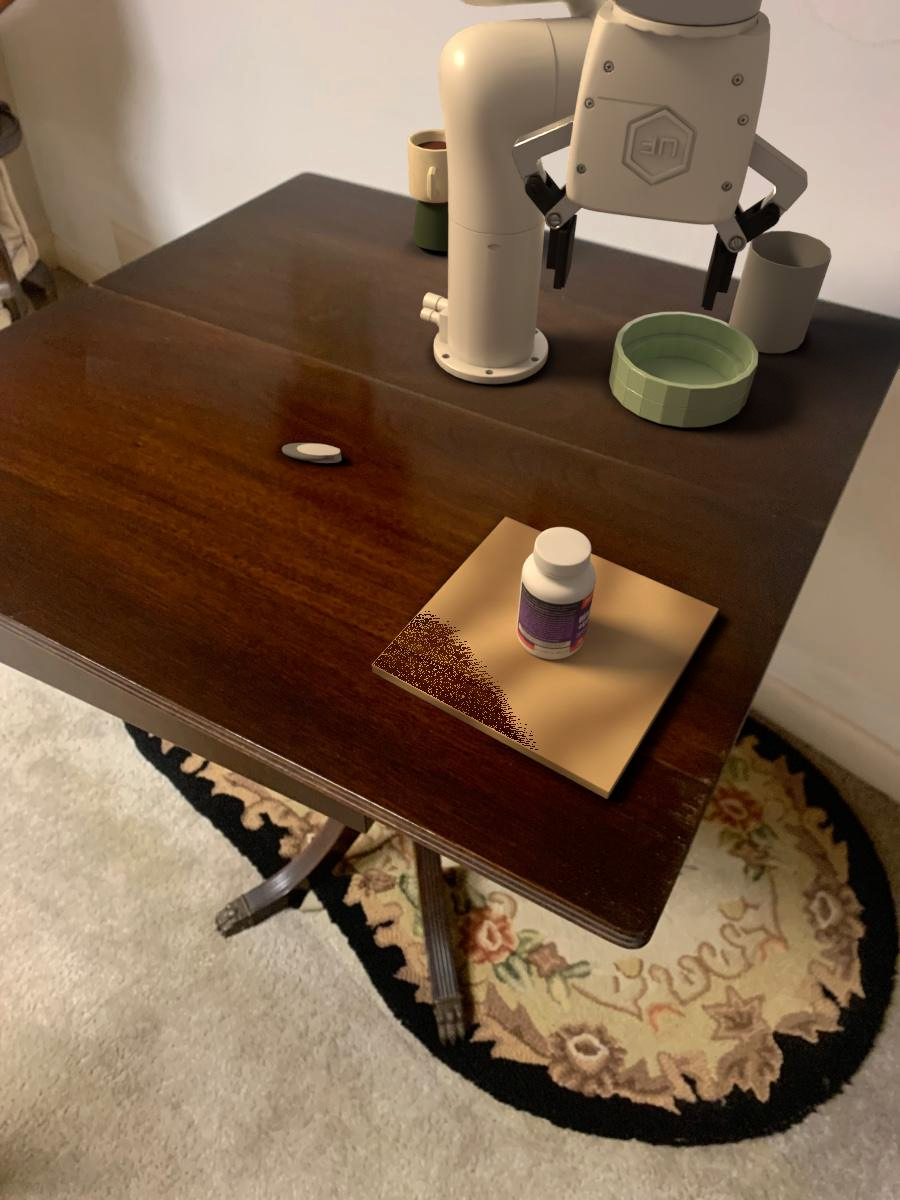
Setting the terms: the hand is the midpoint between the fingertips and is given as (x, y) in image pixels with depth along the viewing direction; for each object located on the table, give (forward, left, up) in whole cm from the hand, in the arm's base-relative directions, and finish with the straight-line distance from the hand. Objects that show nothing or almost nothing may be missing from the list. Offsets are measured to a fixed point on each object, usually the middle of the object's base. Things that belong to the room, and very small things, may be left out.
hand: (633, 289), depth 58 cm
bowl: (-3, +27, -25) cm, 37 cm away
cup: (+1, +43, -25) cm, 50 cm away
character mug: (-42, +40, -25) cm, 64 cm away
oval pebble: (-28, -3, -25) cm, 38 cm away
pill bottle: (+2, -11, -24) cm, 26 cm away
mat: (+2, -11, -25) cm, 27 cm away
